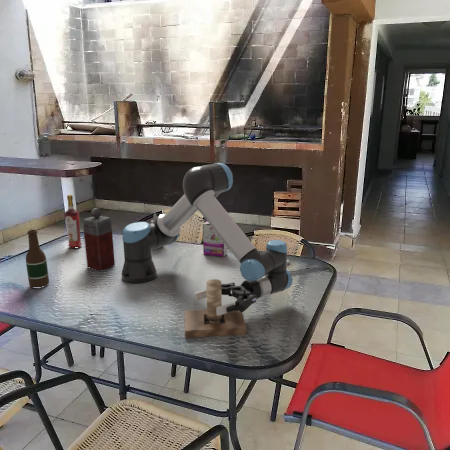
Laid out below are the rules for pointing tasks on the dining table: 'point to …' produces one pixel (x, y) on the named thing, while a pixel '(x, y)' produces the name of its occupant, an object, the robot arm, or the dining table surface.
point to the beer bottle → (36, 262)
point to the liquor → (72, 224)
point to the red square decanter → (98, 241)
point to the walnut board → (198, 329)
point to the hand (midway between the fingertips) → (205, 304)
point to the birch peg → (213, 300)
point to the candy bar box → (212, 242)
